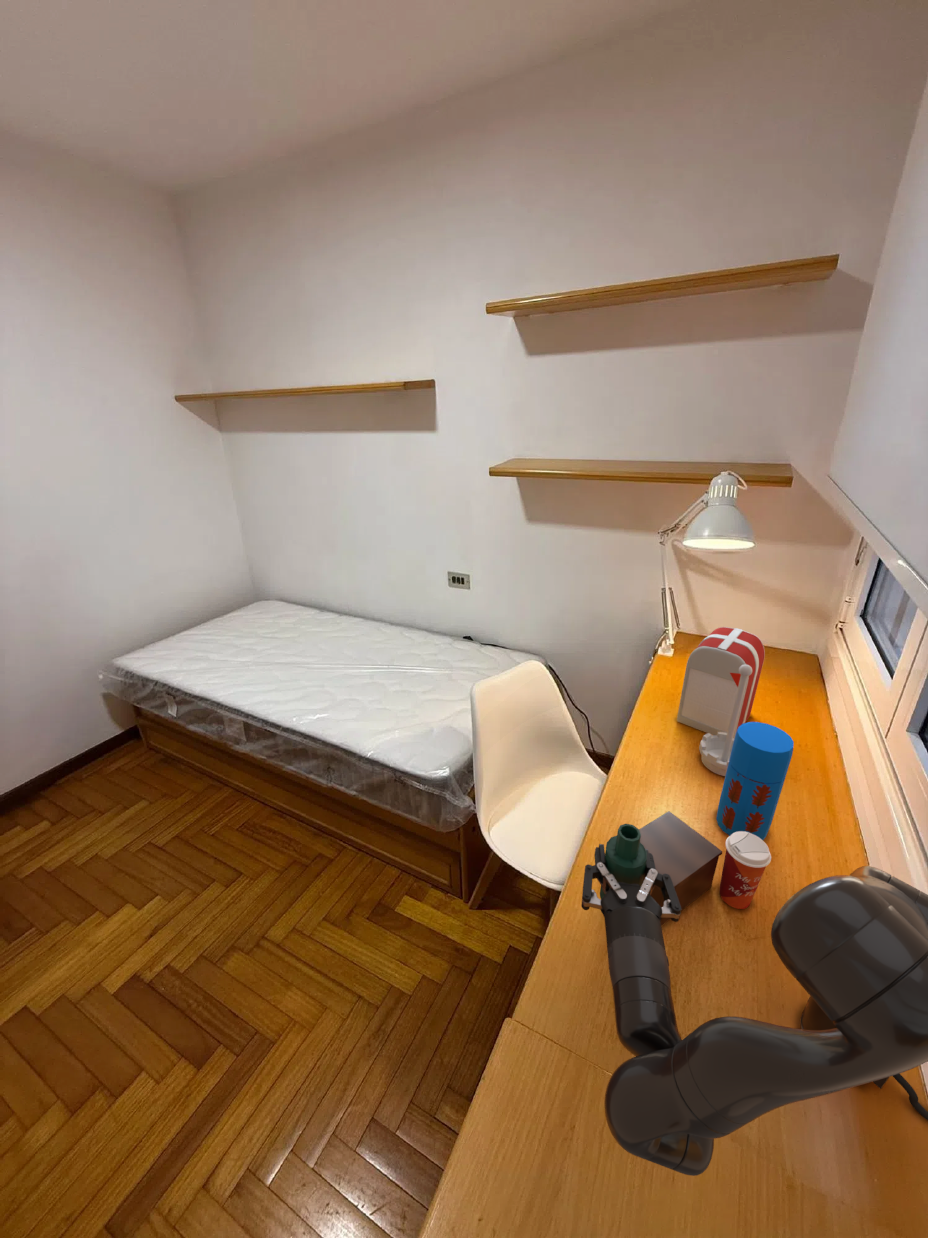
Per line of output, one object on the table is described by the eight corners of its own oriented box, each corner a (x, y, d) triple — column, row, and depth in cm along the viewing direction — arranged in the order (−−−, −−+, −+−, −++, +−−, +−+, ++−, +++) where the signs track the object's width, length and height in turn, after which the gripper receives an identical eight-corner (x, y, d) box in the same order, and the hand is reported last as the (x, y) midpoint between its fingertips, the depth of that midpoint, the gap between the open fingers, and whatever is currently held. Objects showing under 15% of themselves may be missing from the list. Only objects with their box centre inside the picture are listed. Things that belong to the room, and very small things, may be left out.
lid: (668, 813, 111) (668, 810, 111) (722, 854, 101) (722, 851, 101) (613, 847, 103) (614, 844, 103) (666, 895, 93) (666, 892, 93)
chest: (659, 845, 114) (665, 815, 111) (711, 887, 104) (719, 856, 101) (609, 878, 107) (613, 847, 103) (659, 927, 97) (666, 895, 93)
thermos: (774, 847, 113) (803, 756, 103) (721, 840, 115) (744, 750, 105) (759, 810, 123) (784, 724, 112) (710, 804, 125) (730, 719, 114)
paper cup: (732, 919, 98) (747, 867, 92) (704, 884, 105) (717, 834, 99) (766, 908, 100) (783, 856, 94) (737, 875, 107) (751, 825, 101)
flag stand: (762, 776, 133) (790, 676, 121) (715, 783, 131) (739, 681, 119) (730, 745, 145) (753, 650, 132) (687, 750, 143) (706, 655, 131)
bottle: (646, 907, 83) (659, 841, 76) (613, 920, 81) (623, 854, 74) (623, 876, 88) (634, 812, 81) (592, 888, 86) (600, 823, 79)
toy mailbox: (675, 720, 156) (689, 640, 144) (696, 695, 168) (710, 620, 156) (733, 743, 145) (753, 659, 134) (751, 714, 157) (771, 635, 146)
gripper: (579, 964, 71) (575, 860, 86) (689, 981, 69) (666, 871, 83) (583, 930, 68) (578, 828, 82) (699, 946, 65) (673, 838, 80)
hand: (622, 850), depth 83 cm, fingers closed on bottle, 6 cm apart
